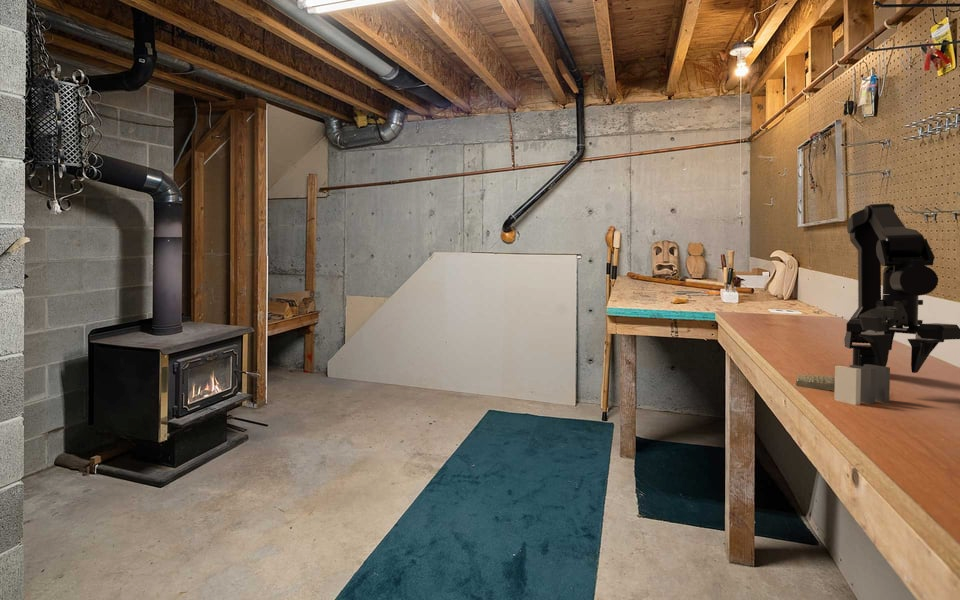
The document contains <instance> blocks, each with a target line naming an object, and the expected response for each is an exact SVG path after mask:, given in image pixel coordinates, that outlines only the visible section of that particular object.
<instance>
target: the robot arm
mask: <svg viewBox="0 0 960 600" xmlns="http://www.w3.org/2000/svg"><path fill="white" fill-rule="evenodd" d="M846 224H847V226H846V230H847V234H849V241H850V243H852V245H853V246H854V247H855V249H856V250H857V277H858V278H857V295H858V298H857V301H858V302H857V305H858V306H857V309H856V311H855V312H854V313H853V314H852V316H851V317H850V319H849V320H848V321H847V322H846V323H845V324H846V327H845V329H846V330H845V334H844V335H845V336H844V347H845V348H847V349H850V350H851V349H852V365H857V366H864V364H870V365H877V366H883V367H887V365H888V361H889V360H888V359H889V354H890V351H892V350H893V341H894V337H895V333H897V334H907V335H909V334H910V335H915V338H907V341H908V343H909V344H910V347H911V354H910V356H911V357H910V358H911V359H910V369H911V373H913V374H917V373H918V372H919V371H920V370H921V368H922V366H923V365H924V363H925V362H926V360H927V358H928V357H929V355H930V354H931V353H932V352H933V350H934V349H935V348H936V347H937V346H938V344H940V343H944V342H945V341H946V340H960V327H959V326H958V324H954V323H953V324H952V323H951V324H950V323H941V322H940V323H938V322H936V323H934V322H933V323H923V321H924V320H923V319H919V306H923V305H924V299H919V296H920V297H921V296H924V295H929V294H930V293H931V292H933V291H934V290H935V289H936V288H937V286H938V284H939V276H938V275H937V273H936V271H934V270H933V269H932V268H931V266H933V265H934V261H935V258H936V257H935V255H934V252H933V250H932V248H931V246H930V243H928V240H927V238H925V237H924V235H923V234H922V233H921V232H919V231H918V230H916V229H914V228H913V229H912V228H908V227H906V226H905V224H904V223H903V221H902V220H901V219H900V217H899V216H898V214H897V213H896V211H895V205H894V204H891V203H872V204H871V203H870V204H869V205H865V207H864V208H863V209H861V210H859V211H856V212H854V213H852V214H851V216H850V217H849V219H848V220H847V223H846ZM929 266H930V267H929ZM882 267H884V269H883V272H882ZM854 343H855V344H854Z"/></svg>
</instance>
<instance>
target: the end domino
mask: <svg viewBox="0 0 960 600" xmlns="http://www.w3.org/2000/svg"><path fill="white" fill-rule="evenodd" d="M834 377H835V391H834V394H833V395H834V399H833V400H834V401H837V402H841V403H845V404H849V405H854V406H858V405H859V406H860V405H861V402H860V391H861V369H857V368H851V367H850V366H845V365H844V366H843V365H835V366H834Z"/></svg>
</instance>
